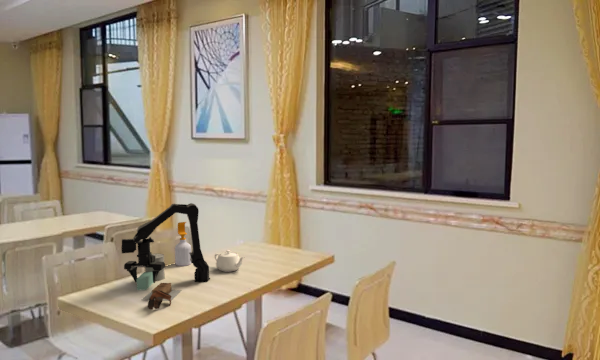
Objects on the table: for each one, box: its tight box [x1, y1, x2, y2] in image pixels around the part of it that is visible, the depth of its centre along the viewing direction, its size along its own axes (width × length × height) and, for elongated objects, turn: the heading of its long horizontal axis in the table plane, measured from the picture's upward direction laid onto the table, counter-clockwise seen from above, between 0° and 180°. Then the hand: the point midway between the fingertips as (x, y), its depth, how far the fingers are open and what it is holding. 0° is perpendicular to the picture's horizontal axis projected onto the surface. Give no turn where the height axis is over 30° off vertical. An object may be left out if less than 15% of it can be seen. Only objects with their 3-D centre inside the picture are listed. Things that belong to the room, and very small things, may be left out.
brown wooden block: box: [151, 286, 167, 299], centre depth 221 cm, size 5×5×4 cm
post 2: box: [156, 282, 173, 294], centre depth 227 cm, size 5×5×4 cm
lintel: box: [136, 271, 154, 291], centre depth 236 cm, size 11×4×6 cm, turn 179°
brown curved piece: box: [147, 290, 172, 310], centre depth 209 cm, size 12×10×8 cm
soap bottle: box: [174, 221, 192, 267], centre depth 274 cm, size 9×9×25 cm
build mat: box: [141, 289, 182, 302], centre depth 224 cm, size 14×14×1 cm
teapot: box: [214, 249, 245, 273], centre depth 264 cm, size 22×14×11 cm, turn 55°
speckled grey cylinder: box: [144, 252, 166, 282], centre depth 248 cm, size 10×10×12 cm
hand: (145, 282), depth 236 cm, fingers open, 9 cm apart
